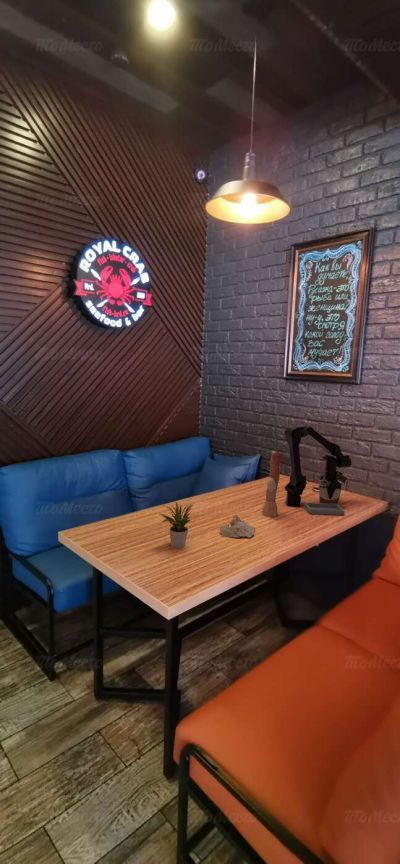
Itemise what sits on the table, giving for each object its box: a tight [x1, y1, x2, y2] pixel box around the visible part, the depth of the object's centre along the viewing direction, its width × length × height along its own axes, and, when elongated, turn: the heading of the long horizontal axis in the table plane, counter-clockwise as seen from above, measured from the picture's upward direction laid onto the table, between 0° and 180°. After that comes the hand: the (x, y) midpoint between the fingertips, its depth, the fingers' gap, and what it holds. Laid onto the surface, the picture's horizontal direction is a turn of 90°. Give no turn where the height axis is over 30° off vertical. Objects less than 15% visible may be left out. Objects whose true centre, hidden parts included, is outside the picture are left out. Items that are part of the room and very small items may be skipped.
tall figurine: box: [261, 450, 282, 518], centre depth 198 cm, size 11×7×30 cm
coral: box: [219, 514, 256, 539], centre depth 175 cm, size 18×16×5 cm
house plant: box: [158, 500, 196, 549], centre depth 159 cm, size 14×14×16 cm
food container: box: [317, 482, 343, 505], centre depth 222 cm, size 12×6×10 cm, turn 85°
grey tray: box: [303, 502, 345, 517], centre depth 207 cm, size 17×11×2 cm, turn 91°
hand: (328, 497), depth 222 cm, fingers closed on food container, 6 cm apart
